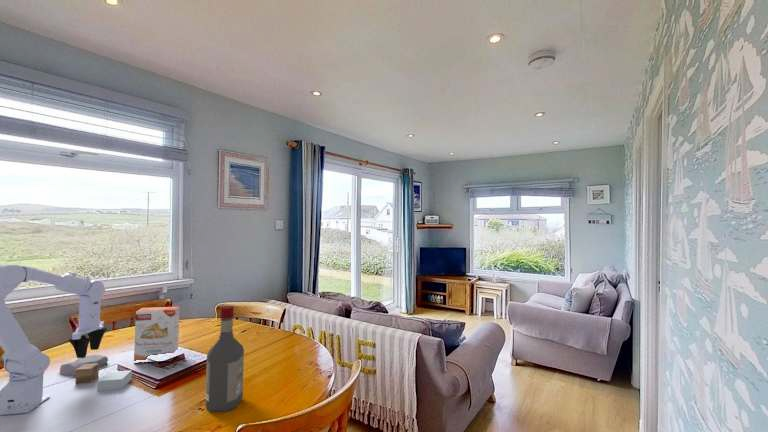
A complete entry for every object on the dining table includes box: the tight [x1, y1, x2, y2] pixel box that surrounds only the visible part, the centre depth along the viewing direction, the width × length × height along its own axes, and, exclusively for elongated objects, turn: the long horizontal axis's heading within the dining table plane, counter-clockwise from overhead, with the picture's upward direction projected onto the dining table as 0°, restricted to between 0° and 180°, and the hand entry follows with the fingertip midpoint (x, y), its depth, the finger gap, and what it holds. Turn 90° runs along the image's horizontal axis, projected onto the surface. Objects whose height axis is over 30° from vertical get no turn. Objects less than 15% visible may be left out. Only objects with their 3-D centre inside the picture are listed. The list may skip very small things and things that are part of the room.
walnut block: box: [74, 363, 100, 385], centre depth 119 cm, size 4×4×5 cm
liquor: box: [204, 305, 245, 413], centre depth 106 cm, size 9×9×30 cm
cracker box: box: [133, 306, 180, 362], centre depth 138 cm, size 14×6×21 cm, turn 105°
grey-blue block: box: [96, 369, 133, 392], centre depth 117 cm, size 7×7×4 cm
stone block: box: [59, 354, 109, 377], centre depth 129 cm, size 12×5×10 cm
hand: (88, 353), depth 120 cm, fingers open, 7 cm apart
